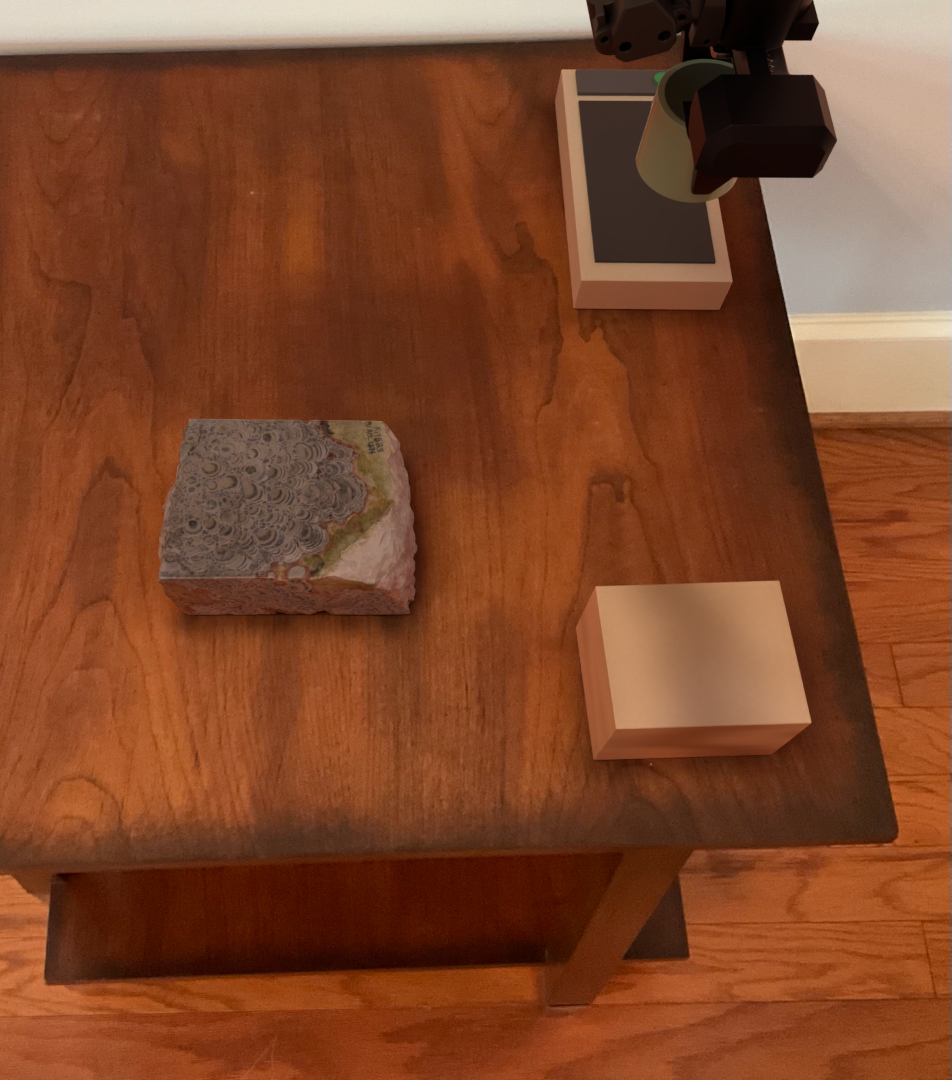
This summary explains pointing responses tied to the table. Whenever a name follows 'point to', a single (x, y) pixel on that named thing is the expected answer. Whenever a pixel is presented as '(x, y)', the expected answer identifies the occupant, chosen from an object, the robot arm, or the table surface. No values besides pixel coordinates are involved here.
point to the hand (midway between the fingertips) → (693, 151)
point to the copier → (629, 205)
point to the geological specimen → (288, 519)
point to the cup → (676, 132)
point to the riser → (689, 670)
